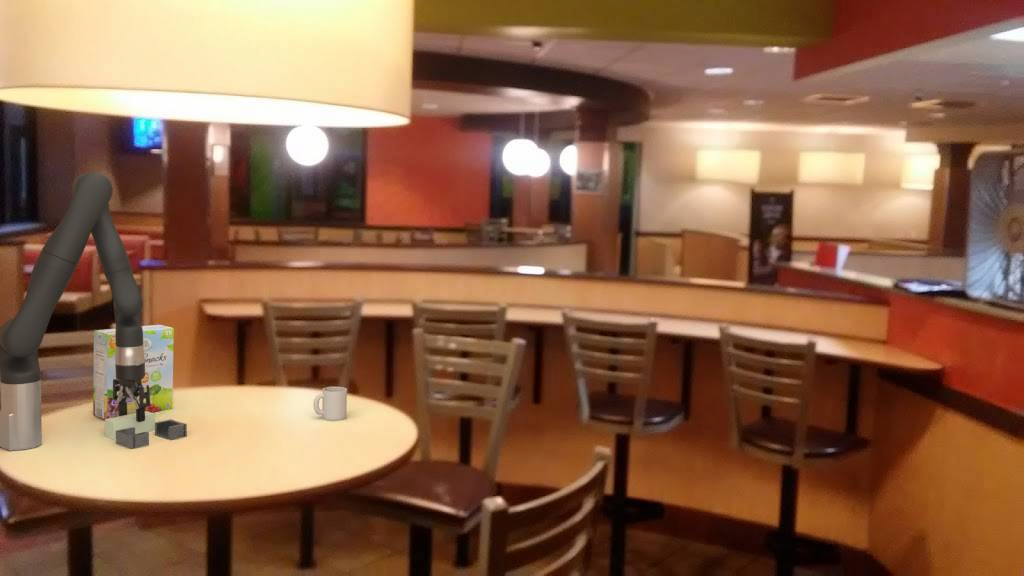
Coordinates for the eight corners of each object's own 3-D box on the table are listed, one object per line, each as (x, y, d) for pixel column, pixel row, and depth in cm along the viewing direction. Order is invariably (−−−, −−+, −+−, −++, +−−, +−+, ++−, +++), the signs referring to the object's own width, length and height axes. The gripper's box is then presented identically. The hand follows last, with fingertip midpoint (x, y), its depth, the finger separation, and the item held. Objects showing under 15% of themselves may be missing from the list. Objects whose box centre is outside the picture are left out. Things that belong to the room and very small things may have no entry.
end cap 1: (131, 449, 238) (131, 436, 238) (115, 443, 243) (115, 430, 242) (148, 445, 242) (148, 432, 242) (133, 439, 247) (133, 427, 246)
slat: (113, 440, 247) (113, 421, 246) (105, 437, 249) (104, 419, 248) (154, 430, 257) (154, 413, 256) (146, 428, 259) (146, 411, 259)
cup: (348, 420, 275) (349, 391, 274) (315, 422, 271) (316, 393, 270) (343, 414, 282) (343, 386, 281) (310, 416, 278) (311, 387, 277)
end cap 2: (170, 431, 256) (170, 419, 256) (186, 436, 252) (186, 424, 251) (154, 434, 252) (154, 422, 252) (170, 440, 248) (170, 427, 247)
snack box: (107, 422, 263) (106, 334, 260) (91, 416, 268) (90, 330, 265) (175, 409, 280) (174, 326, 277) (159, 404, 286) (158, 323, 283)
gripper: (102, 360, 252) (104, 417, 254) (132, 367, 244) (134, 426, 246) (127, 355, 258) (129, 411, 260) (157, 362, 250) (159, 420, 252)
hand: (131, 418), depth 253 cm, fingers open, 8 cm apart
